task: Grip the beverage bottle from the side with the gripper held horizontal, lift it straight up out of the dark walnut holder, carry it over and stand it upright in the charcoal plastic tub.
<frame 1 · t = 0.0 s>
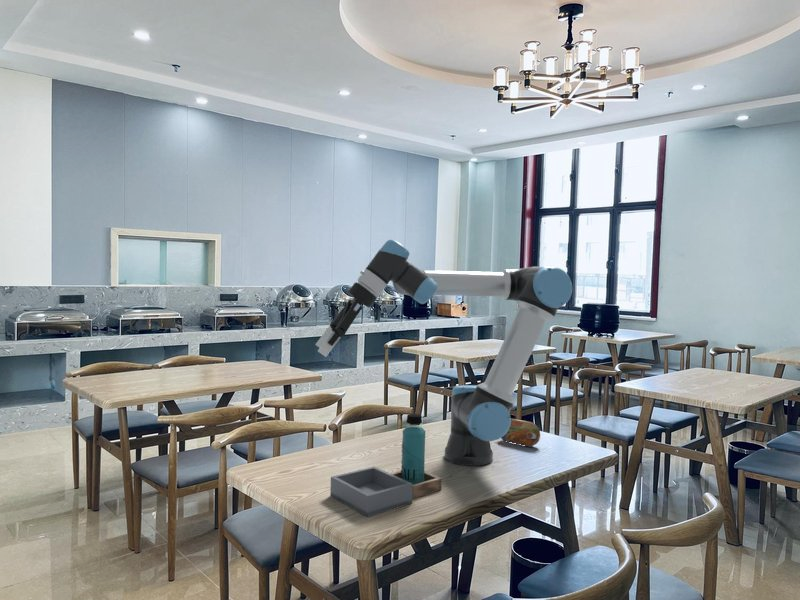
hand: (320, 350, 160), 36 cm above the table, tool tilted 35°, fingers open, 13 cm apart
tin: (518, 444, 201), on the table
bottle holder: (412, 487, 157), on the table
beverage bottle: (412, 488, 157), resting in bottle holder
tub: (370, 499, 148), on the table
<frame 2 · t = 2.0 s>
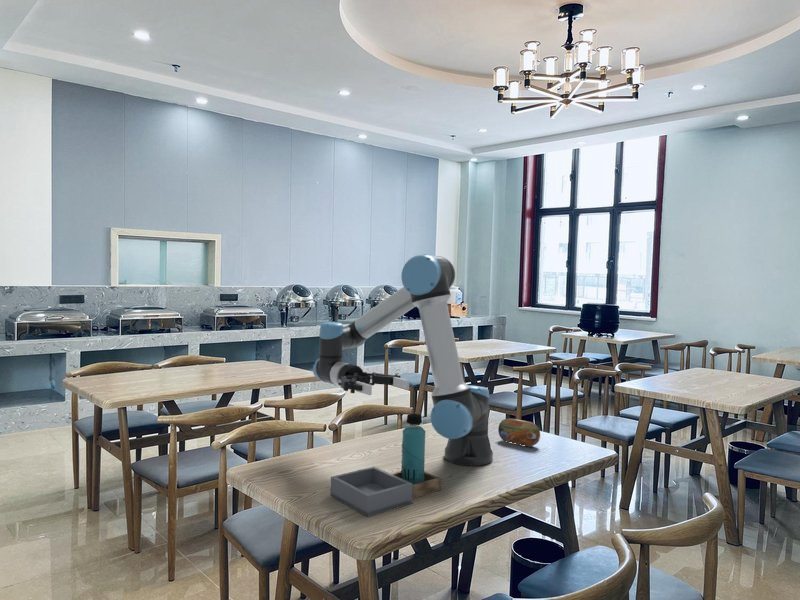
hand: (390, 387, 164), 25 cm above the table, tool horizontal, fingers open, 13 cm apart
nothing on the table moved.
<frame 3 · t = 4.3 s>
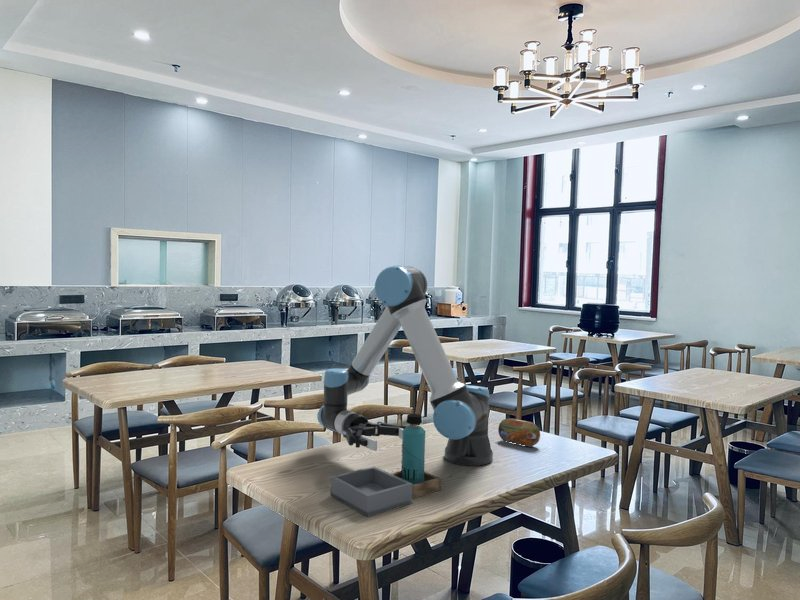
hand: (395, 441, 161), 11 cm above the table, tool horizontal, fingers open, 13 cm apart
nothing on the table moved.
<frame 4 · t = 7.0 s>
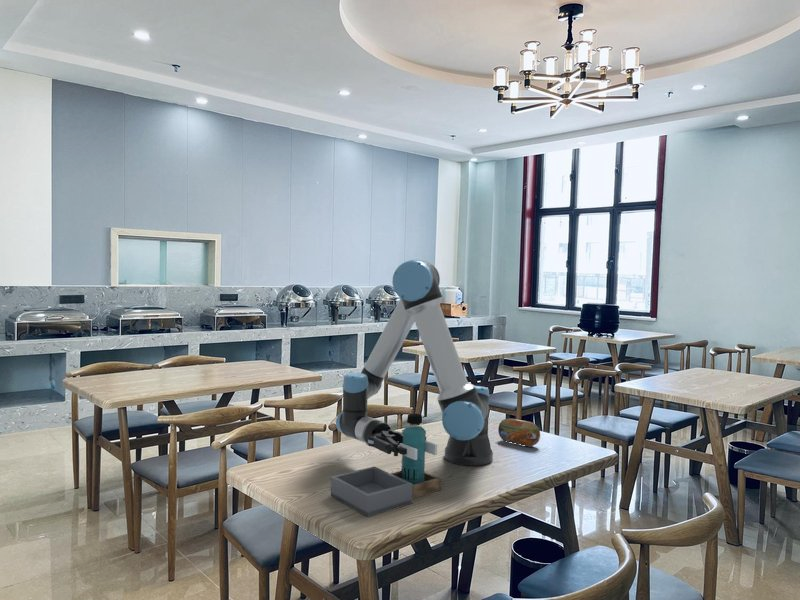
hand: (426, 452, 153), 11 cm above the table, tool horizontal, fingers closed on beverage bottle, 6 cm apart
beverage bottle: (412, 488, 157), resting in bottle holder, touching gripper
everything else where it was.
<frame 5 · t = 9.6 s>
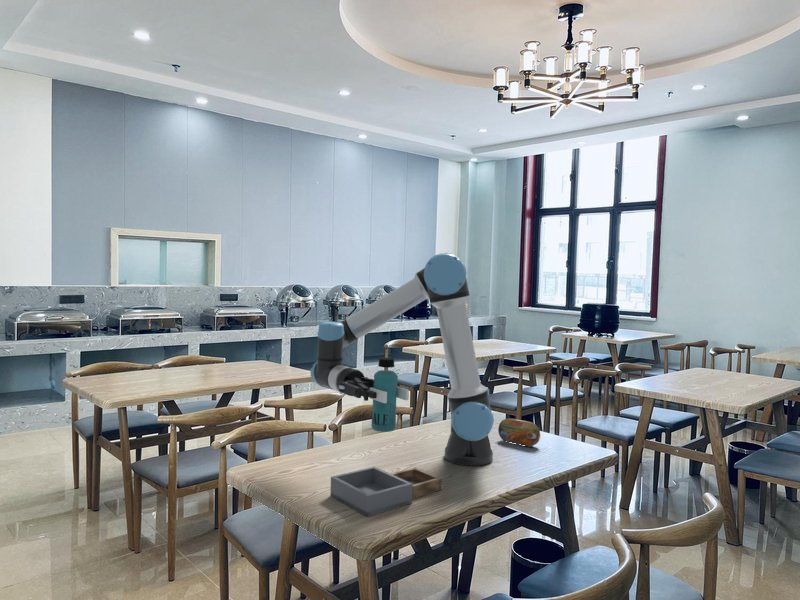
hand: (396, 396, 147), 27 cm above the table, tool horizontal, fingers closed on beverage bottle, 6 cm apart
beverage bottle: (382, 435, 151), point 16 cm above the table, touching gripper
everything else where it was.
when the fingers open (13 cm above the table, at t = 12.8 s): beverage bottle stays where it is, resting on tub.
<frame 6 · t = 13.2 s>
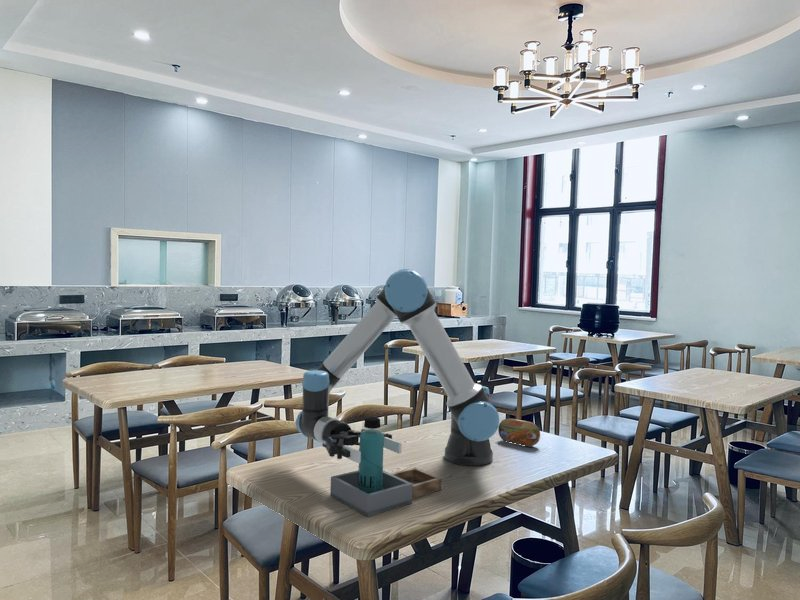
hand: (380, 452, 145), 13 cm above the table, tool horizontal, fingers open, 12 cm apart
beverage bottle: (369, 496, 148), point 1 cm above the table, touching tub
everything else where it was.
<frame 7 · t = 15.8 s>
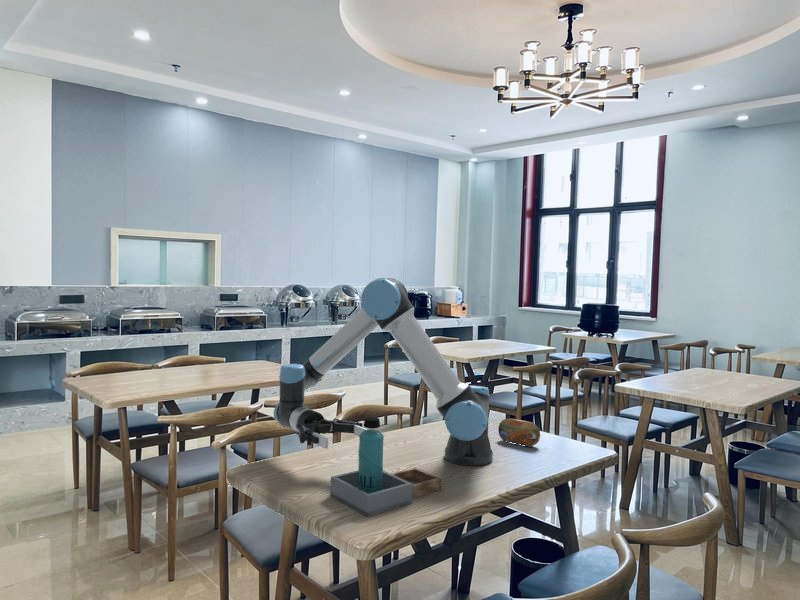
hand: (348, 439, 156), 13 cm above the table, tool horizontal, fingers open, 13 cm apart
nothing on the table moved.
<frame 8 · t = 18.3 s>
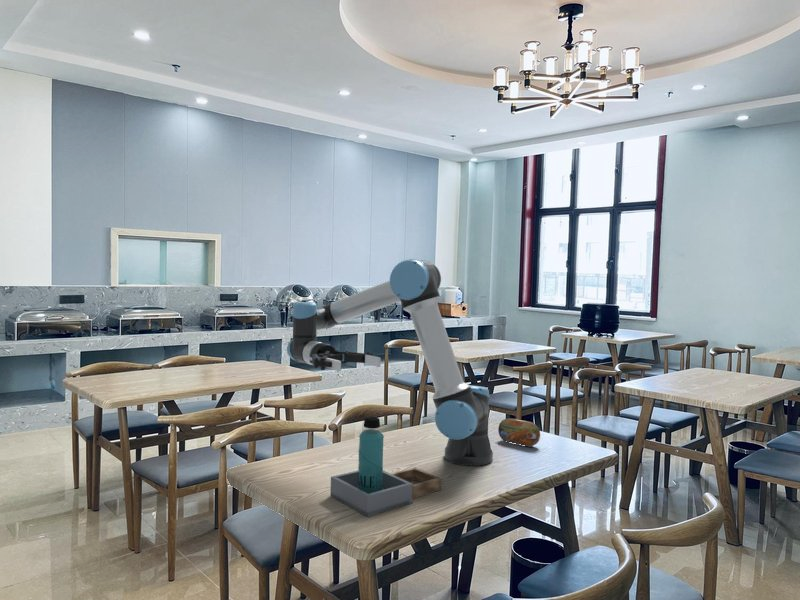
hand: (360, 364, 163), 32 cm above the table, tool horizontal, fingers open, 13 cm apart
nothing on the table moved.
at the end: beverage bottle inside the target area on the tub (0.2 cm from its centre), point 0.8 cm above the tub's base; beverage bottle tilted 0°; the gripper is holding nothing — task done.
